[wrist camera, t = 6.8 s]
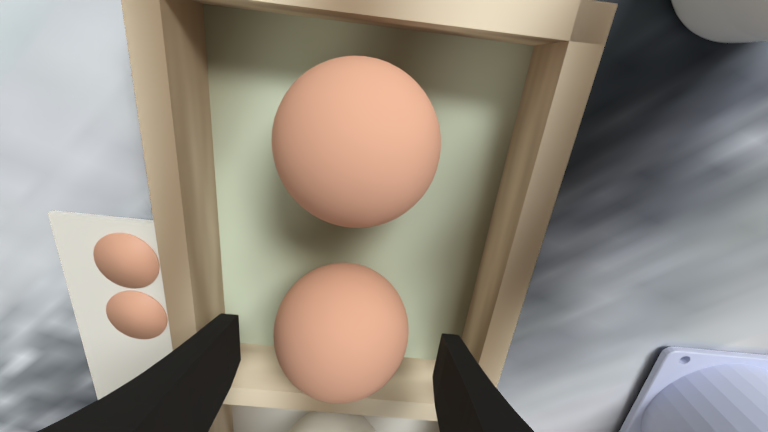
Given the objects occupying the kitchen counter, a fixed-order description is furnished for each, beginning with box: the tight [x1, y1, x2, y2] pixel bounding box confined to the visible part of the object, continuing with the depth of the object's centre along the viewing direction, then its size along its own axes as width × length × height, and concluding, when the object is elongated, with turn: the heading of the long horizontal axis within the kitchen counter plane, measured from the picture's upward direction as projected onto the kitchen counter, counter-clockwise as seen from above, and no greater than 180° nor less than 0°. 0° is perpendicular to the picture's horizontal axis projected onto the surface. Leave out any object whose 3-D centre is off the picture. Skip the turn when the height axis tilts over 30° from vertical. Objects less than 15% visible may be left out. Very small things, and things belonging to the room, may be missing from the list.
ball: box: [272, 56, 441, 228], centre depth 11 cm, size 5×5×5 cm
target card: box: [48, 210, 173, 400], centre depth 18 cm, size 6×14×1 cm, turn 174°
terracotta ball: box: [273, 262, 409, 403], centre depth 14 cm, size 5×5×5 cm
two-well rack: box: [121, 0, 618, 432], centre depth 17 cm, size 13×31×4 cm, turn 174°
